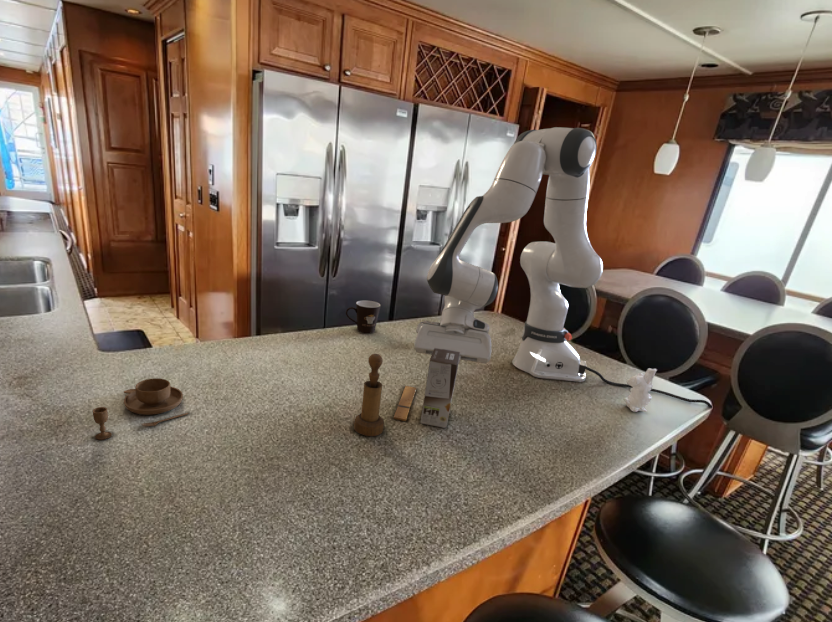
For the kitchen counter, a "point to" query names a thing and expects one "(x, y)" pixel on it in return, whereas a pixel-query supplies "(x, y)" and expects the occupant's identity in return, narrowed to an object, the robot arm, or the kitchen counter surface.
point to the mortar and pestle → (371, 402)
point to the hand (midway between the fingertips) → (448, 371)
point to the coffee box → (440, 387)
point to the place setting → (144, 402)
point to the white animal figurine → (640, 390)
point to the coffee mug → (366, 316)
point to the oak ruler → (405, 403)
